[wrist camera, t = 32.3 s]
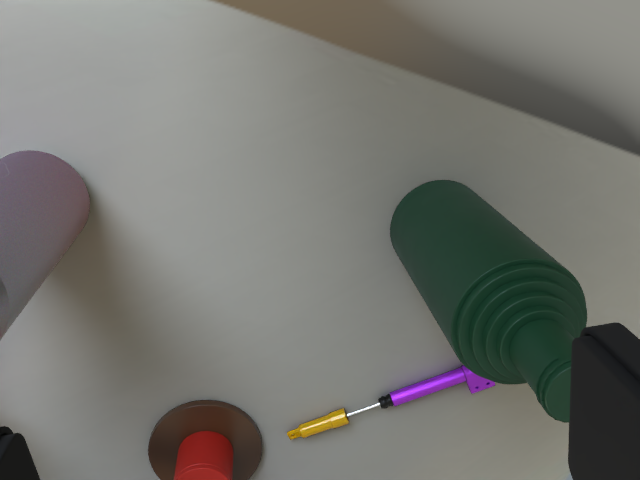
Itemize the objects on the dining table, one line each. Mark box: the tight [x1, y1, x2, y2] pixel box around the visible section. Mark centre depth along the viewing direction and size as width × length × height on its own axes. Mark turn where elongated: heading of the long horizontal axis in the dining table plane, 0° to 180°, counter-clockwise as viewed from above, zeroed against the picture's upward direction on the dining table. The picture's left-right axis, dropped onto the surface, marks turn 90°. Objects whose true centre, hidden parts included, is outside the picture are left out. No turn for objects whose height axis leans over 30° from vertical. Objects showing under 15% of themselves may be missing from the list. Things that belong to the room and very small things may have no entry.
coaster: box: [148, 400, 262, 480], centre depth 44 cm, size 8×8×1 cm
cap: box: [174, 431, 233, 480], centre depth 42 cm, size 4×4×4 cm
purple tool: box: [287, 365, 495, 440], centre depth 44 cm, size 3×1×16 cm
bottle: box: [390, 180, 587, 422], centre depth 32 cm, size 6×6×18 cm
